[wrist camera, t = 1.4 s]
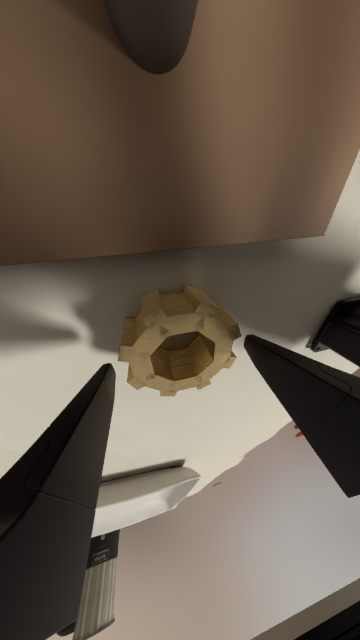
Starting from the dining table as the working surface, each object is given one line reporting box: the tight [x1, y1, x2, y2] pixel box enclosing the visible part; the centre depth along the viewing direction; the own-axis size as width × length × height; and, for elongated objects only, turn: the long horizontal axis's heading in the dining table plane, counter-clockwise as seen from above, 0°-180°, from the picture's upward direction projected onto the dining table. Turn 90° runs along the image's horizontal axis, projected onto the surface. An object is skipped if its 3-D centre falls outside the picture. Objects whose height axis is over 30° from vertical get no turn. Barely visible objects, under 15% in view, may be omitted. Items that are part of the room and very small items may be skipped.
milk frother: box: [57, 529, 120, 640], centre depth 41 cm, size 14×16×15 cm
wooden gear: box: [118, 284, 241, 396], centre depth 10 cm, size 7×7×3 cm
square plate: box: [91, 467, 201, 538], centre depth 30 cm, size 27×27×4 cm
